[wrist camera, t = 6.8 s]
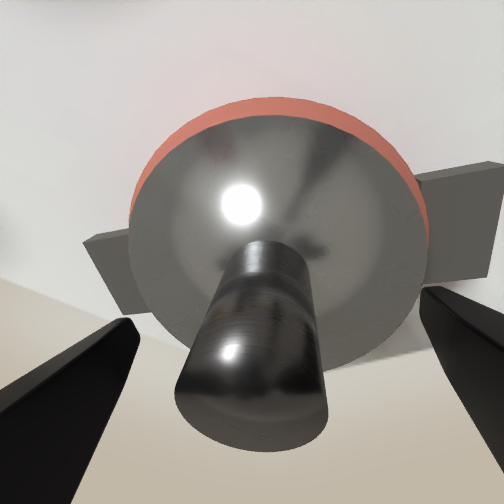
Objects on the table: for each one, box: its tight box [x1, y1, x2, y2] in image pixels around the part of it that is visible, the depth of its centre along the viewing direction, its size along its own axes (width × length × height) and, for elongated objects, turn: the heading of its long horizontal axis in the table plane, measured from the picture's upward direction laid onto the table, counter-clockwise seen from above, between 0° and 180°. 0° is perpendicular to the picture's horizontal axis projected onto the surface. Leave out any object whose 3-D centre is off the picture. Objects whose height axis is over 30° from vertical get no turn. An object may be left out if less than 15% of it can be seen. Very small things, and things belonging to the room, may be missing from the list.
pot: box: [83, 97, 504, 315], centre depth 13 cm, size 17×12×5 cm
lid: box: [128, 115, 427, 452], centre depth 8 cm, size 11×11×6 cm
